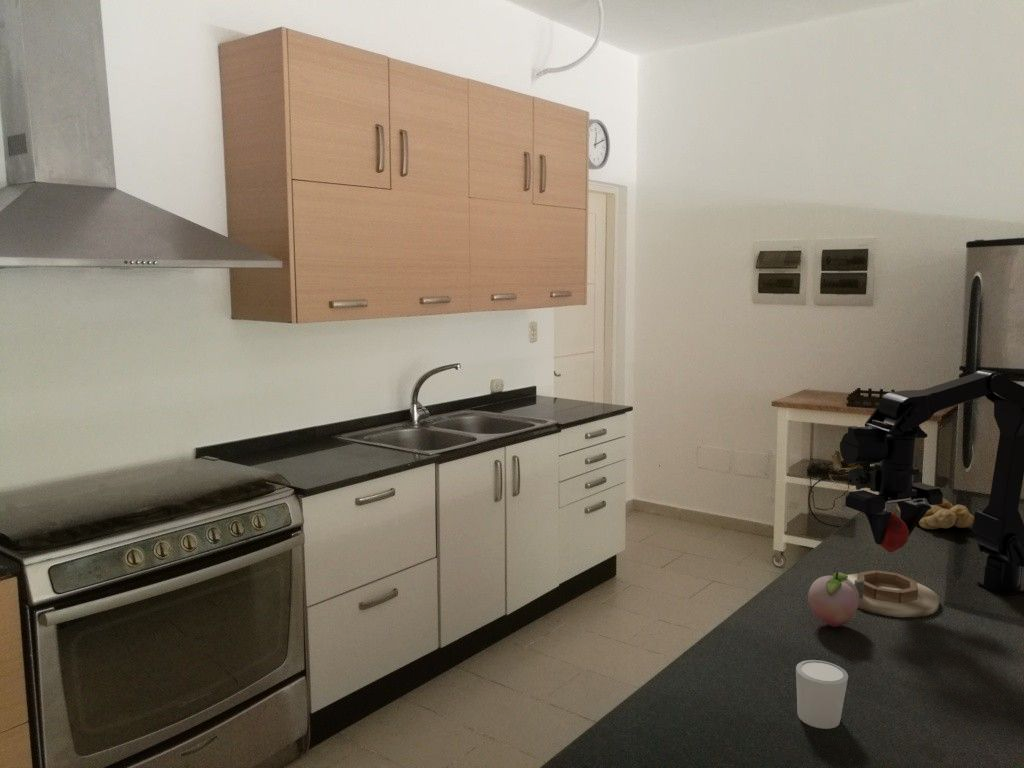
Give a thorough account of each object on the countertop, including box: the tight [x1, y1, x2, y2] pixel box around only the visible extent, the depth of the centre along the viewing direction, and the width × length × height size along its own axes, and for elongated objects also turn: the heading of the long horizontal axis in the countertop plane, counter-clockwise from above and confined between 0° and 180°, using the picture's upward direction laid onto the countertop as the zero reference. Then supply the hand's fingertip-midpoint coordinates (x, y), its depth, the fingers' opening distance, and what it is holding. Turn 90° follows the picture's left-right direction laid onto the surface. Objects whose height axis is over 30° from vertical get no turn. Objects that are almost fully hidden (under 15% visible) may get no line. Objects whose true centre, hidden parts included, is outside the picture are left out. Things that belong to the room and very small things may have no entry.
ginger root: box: [896, 497, 974, 531], centre depth 200 cm, size 16×16×8 cm
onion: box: [880, 510, 910, 553], centre depth 156 cm, size 6×6×8 cm
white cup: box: [795, 659, 849, 730], centre depth 116 cm, size 7×7×7 cm
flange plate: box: [846, 569, 940, 618], centre depth 158 cm, size 18×18×4 cm
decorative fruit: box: [807, 571, 859, 628], centre depth 145 cm, size 9×8×10 cm
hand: (890, 541), depth 156 cm, fingers closed on onion, 6 cm apart
